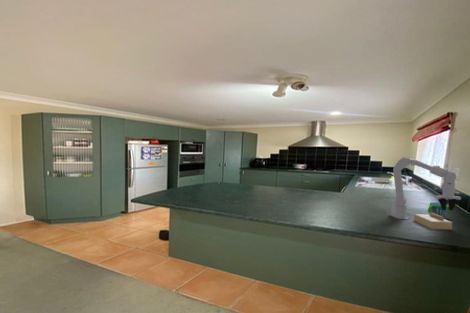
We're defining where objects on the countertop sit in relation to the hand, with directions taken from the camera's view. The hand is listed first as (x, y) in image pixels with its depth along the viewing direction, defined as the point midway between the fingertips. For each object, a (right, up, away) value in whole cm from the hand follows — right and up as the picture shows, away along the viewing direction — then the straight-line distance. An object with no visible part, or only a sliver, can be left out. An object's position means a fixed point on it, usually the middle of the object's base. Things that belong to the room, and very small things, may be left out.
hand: (447, 210), depth 153 cm
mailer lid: (-9, -6, +1) cm, 11 cm away
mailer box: (-9, -10, +1) cm, 14 cm away
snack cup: (+10, -10, +18) cm, 23 cm away
